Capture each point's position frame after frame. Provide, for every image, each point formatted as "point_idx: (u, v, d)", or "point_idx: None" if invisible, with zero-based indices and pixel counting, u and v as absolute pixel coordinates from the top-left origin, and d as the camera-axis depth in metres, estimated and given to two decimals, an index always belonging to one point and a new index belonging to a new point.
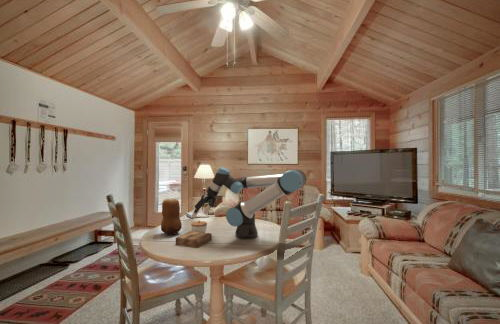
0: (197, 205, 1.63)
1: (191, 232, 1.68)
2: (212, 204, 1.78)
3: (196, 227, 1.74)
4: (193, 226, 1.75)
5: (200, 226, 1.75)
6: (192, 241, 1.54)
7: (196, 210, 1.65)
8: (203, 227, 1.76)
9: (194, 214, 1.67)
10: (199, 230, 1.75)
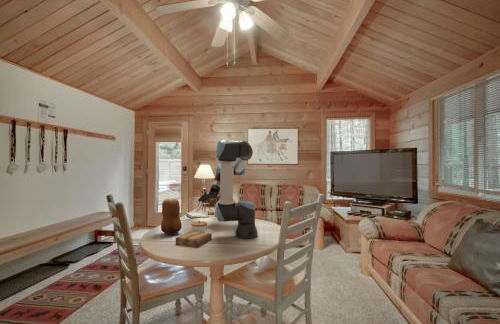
0: None
1: (191, 232, 1.68)
2: (218, 200, 1.91)
3: (196, 227, 1.74)
4: (193, 226, 1.75)
5: (200, 226, 1.75)
6: (192, 241, 1.54)
7: (199, 202, 1.95)
8: (203, 227, 1.76)
9: None
10: (199, 230, 1.75)
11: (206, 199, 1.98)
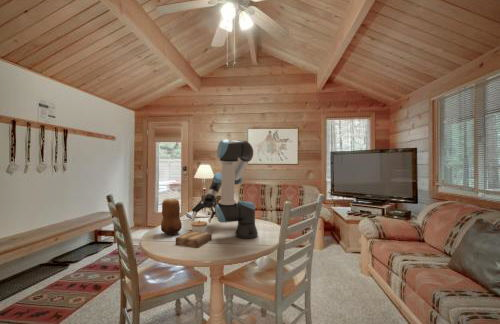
0: None
1: (191, 232, 1.68)
2: (213, 210, 1.85)
3: (196, 227, 1.74)
4: (193, 226, 1.75)
5: (200, 226, 1.75)
6: (192, 241, 1.54)
7: (193, 213, 1.89)
8: (203, 227, 1.76)
9: None
10: (199, 230, 1.75)
11: (200, 209, 1.92)
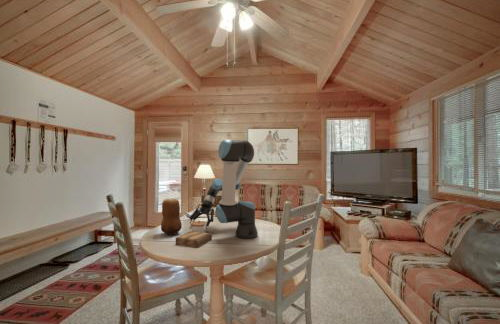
0: None
1: (191, 232, 1.68)
2: (209, 218, 1.79)
3: (196, 227, 1.74)
4: (193, 226, 1.75)
5: (200, 226, 1.75)
6: (192, 241, 1.54)
7: None
8: (203, 227, 1.76)
9: None
10: (199, 230, 1.75)
11: (198, 216, 1.86)
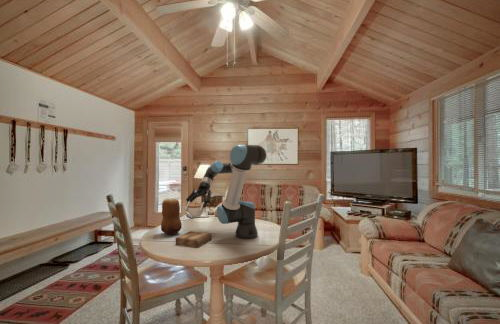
0: None
1: (191, 232, 1.68)
2: (205, 199, 1.73)
3: (192, 208, 1.69)
4: (189, 207, 1.70)
5: (196, 207, 1.69)
6: (192, 241, 1.54)
7: (187, 202, 1.77)
8: (199, 208, 1.70)
9: None
10: (195, 211, 1.69)
11: (195, 198, 1.80)
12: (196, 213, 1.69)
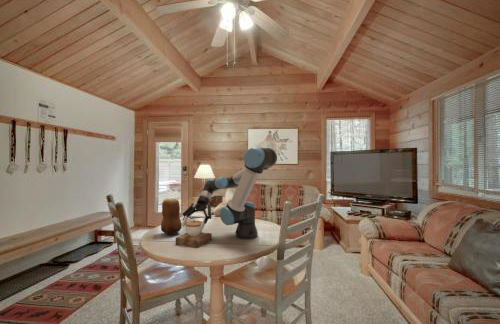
0: None
1: None
2: (206, 214, 1.62)
3: (190, 227, 1.57)
4: (187, 226, 1.58)
5: (195, 226, 1.57)
6: (192, 241, 1.54)
7: (184, 217, 1.66)
8: (198, 227, 1.59)
9: None
10: (194, 231, 1.57)
11: (192, 213, 1.69)
12: (195, 232, 1.58)
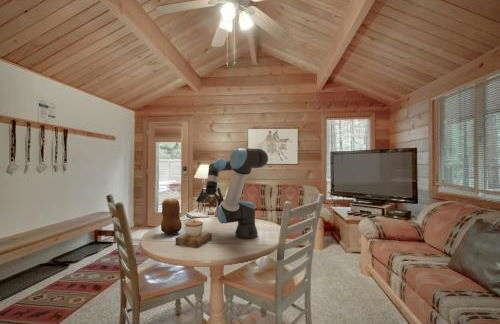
0: None
1: None
2: (218, 198, 1.78)
3: (190, 227, 1.57)
4: (187, 226, 1.58)
5: (195, 226, 1.57)
6: (192, 241, 1.54)
7: (198, 203, 1.82)
8: (198, 227, 1.59)
9: None
10: (194, 231, 1.58)
11: None
12: (195, 232, 1.58)
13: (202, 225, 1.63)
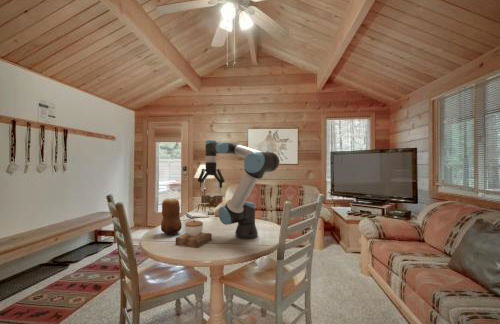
0: None
1: None
2: (219, 180, 1.79)
3: (190, 227, 1.57)
4: (187, 226, 1.58)
5: (195, 226, 1.57)
6: (192, 241, 1.54)
7: (200, 183, 1.85)
8: (198, 227, 1.59)
9: None
10: (194, 231, 1.58)
11: None
12: (195, 232, 1.58)
13: (202, 225, 1.63)
